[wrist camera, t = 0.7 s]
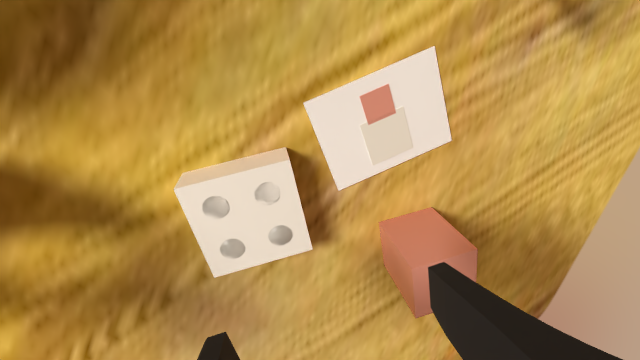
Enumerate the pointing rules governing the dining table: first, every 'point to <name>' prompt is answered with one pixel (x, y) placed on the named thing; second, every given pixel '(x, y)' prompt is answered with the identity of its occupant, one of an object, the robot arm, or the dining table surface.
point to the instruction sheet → (381, 118)
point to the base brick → (245, 211)
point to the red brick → (423, 254)
